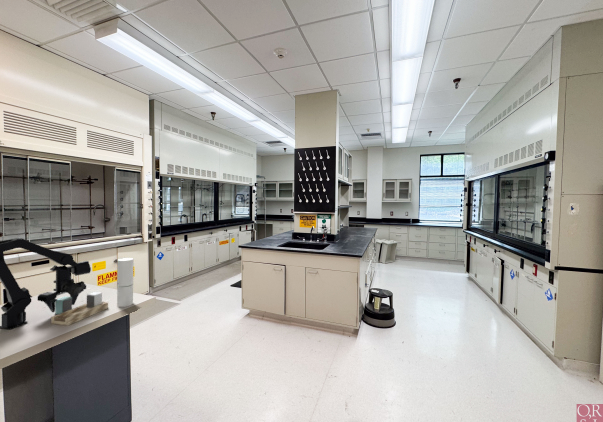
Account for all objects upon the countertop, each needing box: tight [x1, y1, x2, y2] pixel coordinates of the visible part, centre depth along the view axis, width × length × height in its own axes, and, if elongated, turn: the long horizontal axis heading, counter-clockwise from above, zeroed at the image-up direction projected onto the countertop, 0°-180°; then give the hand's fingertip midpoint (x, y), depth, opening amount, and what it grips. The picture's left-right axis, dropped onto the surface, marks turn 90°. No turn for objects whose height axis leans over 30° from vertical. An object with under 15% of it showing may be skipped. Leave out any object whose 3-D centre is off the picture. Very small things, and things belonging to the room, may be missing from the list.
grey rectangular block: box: [86, 291, 103, 308], centre depth 131 cm, size 4×5×7 cm
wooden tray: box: [50, 301, 109, 326], centre depth 125 cm, size 20×9×3 cm, turn 171°
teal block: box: [54, 295, 73, 315], centre depth 127 cm, size 4×5×7 cm
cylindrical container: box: [116, 257, 134, 308], centre depth 139 cm, size 7×7×25 cm
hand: (63, 308), depth 127 cm, fingers open, 9 cm apart
